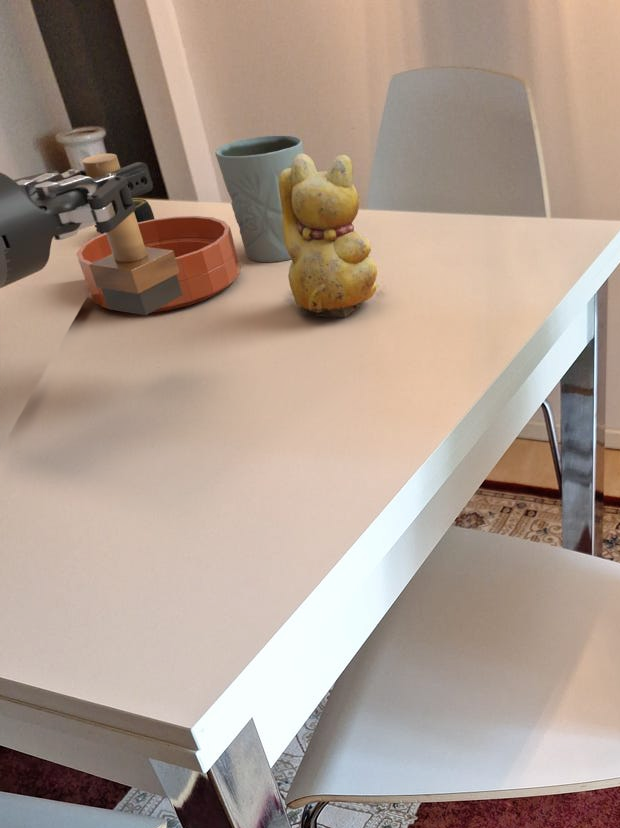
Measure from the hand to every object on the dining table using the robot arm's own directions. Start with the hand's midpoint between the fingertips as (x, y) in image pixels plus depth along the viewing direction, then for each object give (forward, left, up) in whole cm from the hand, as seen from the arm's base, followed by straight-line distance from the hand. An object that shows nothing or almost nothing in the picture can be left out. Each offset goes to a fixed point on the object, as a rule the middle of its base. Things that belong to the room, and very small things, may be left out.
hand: (132, 174), depth 79 cm
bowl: (-6, +24, -18) cm, 31 cm away
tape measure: (-15, +48, -18) cm, 54 cm away
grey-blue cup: (+7, +33, -18) cm, 39 cm away
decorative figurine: (+14, +10, -18) cm, 25 cm away
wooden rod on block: (-2, -2, -10) cm, 10 cm away
